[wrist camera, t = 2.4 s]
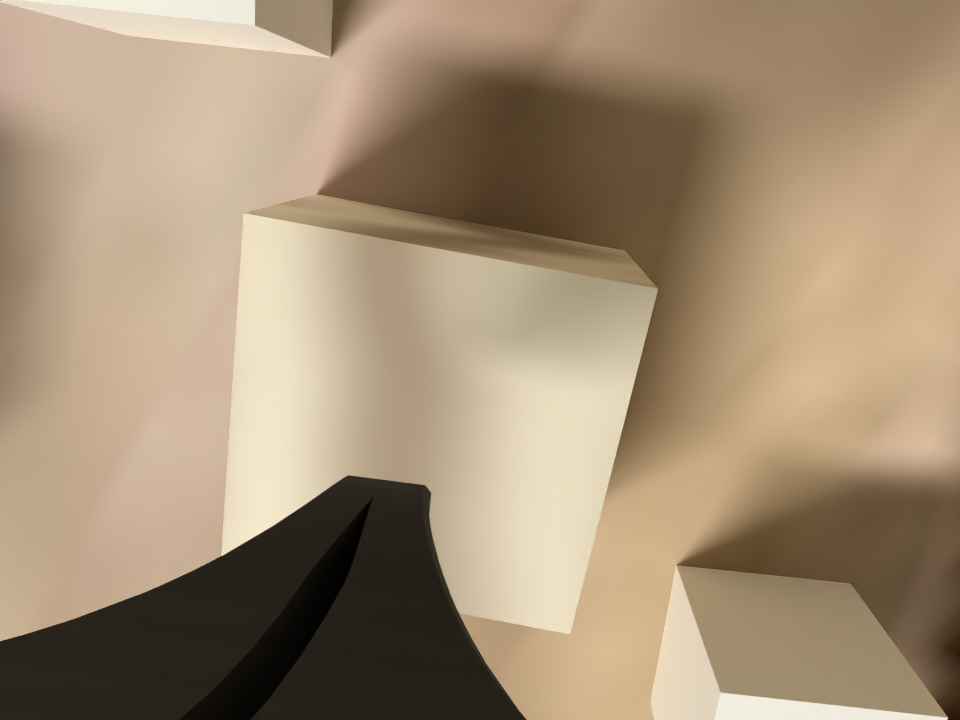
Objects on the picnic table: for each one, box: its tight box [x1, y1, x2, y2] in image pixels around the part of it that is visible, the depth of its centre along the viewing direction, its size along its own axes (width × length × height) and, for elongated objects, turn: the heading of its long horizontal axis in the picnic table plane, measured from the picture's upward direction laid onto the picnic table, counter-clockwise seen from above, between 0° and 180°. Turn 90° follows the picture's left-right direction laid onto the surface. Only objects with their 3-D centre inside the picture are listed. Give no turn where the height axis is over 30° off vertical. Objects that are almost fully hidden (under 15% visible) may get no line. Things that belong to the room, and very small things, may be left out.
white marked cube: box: [651, 565, 948, 720], centre depth 19 cm, size 5×5×5 cm
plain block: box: [221, 194, 658, 634], centre depth 17 cm, size 8×8×5 cm
